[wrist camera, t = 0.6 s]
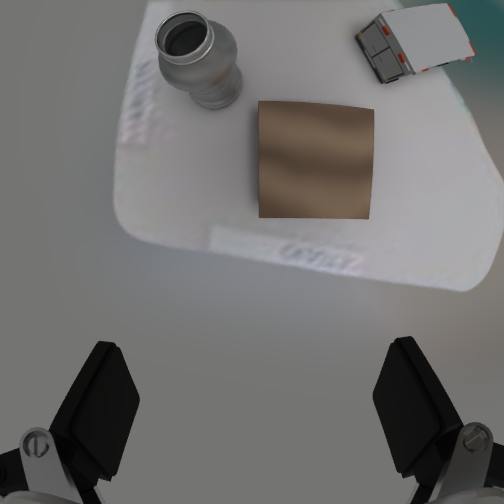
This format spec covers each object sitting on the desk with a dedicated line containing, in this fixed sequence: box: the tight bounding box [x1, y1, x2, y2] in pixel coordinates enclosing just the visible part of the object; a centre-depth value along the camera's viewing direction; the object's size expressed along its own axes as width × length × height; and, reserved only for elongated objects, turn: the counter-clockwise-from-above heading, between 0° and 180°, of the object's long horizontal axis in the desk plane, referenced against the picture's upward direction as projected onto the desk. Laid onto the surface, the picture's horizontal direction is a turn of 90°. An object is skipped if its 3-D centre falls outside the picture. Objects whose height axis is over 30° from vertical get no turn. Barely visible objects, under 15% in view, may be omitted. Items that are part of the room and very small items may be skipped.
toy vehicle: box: [355, 3, 476, 84], centre depth 24 cm, size 10×17×10 cm, turn 119°
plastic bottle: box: [155, 11, 243, 109], centre depth 23 cm, size 6×7×20 cm
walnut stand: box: [258, 101, 374, 219], centre depth 33 cm, size 13×13×6 cm
